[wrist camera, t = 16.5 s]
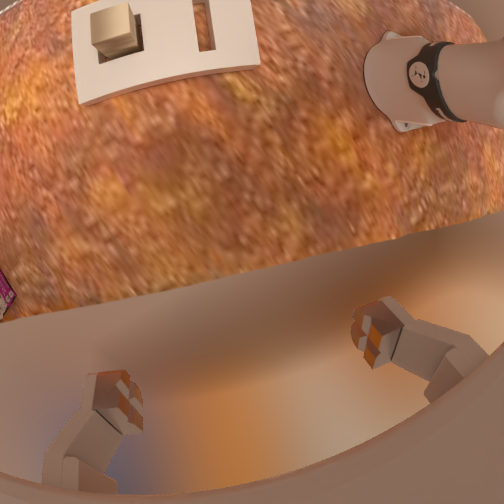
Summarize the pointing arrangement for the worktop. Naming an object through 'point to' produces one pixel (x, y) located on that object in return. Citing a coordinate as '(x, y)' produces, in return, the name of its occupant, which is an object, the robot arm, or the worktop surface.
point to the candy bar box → (5, 295)
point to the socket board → (164, 46)
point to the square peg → (115, 31)
